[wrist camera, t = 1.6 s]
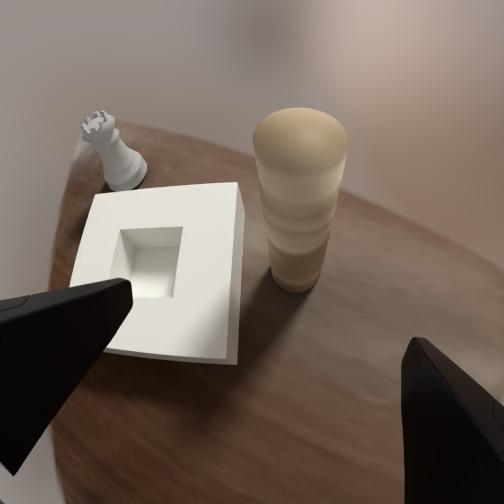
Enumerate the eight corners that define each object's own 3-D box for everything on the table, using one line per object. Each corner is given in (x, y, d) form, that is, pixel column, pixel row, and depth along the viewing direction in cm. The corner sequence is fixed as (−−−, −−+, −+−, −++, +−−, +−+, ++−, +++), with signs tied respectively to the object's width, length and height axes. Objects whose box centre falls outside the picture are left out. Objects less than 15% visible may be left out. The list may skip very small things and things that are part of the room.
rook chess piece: (105, 198, 28) (65, 145, 21) (114, 164, 30) (80, 111, 23) (145, 190, 28) (109, 130, 20) (151, 156, 29) (122, 97, 22)
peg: (321, 292, 22) (355, 172, 10) (271, 292, 22) (251, 173, 10) (318, 246, 23) (340, 108, 11) (271, 247, 24) (254, 109, 12)
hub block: (237, 364, 20) (225, 359, 16) (90, 349, 21) (59, 339, 18) (244, 212, 25) (237, 182, 22) (116, 219, 26) (95, 194, 23)
